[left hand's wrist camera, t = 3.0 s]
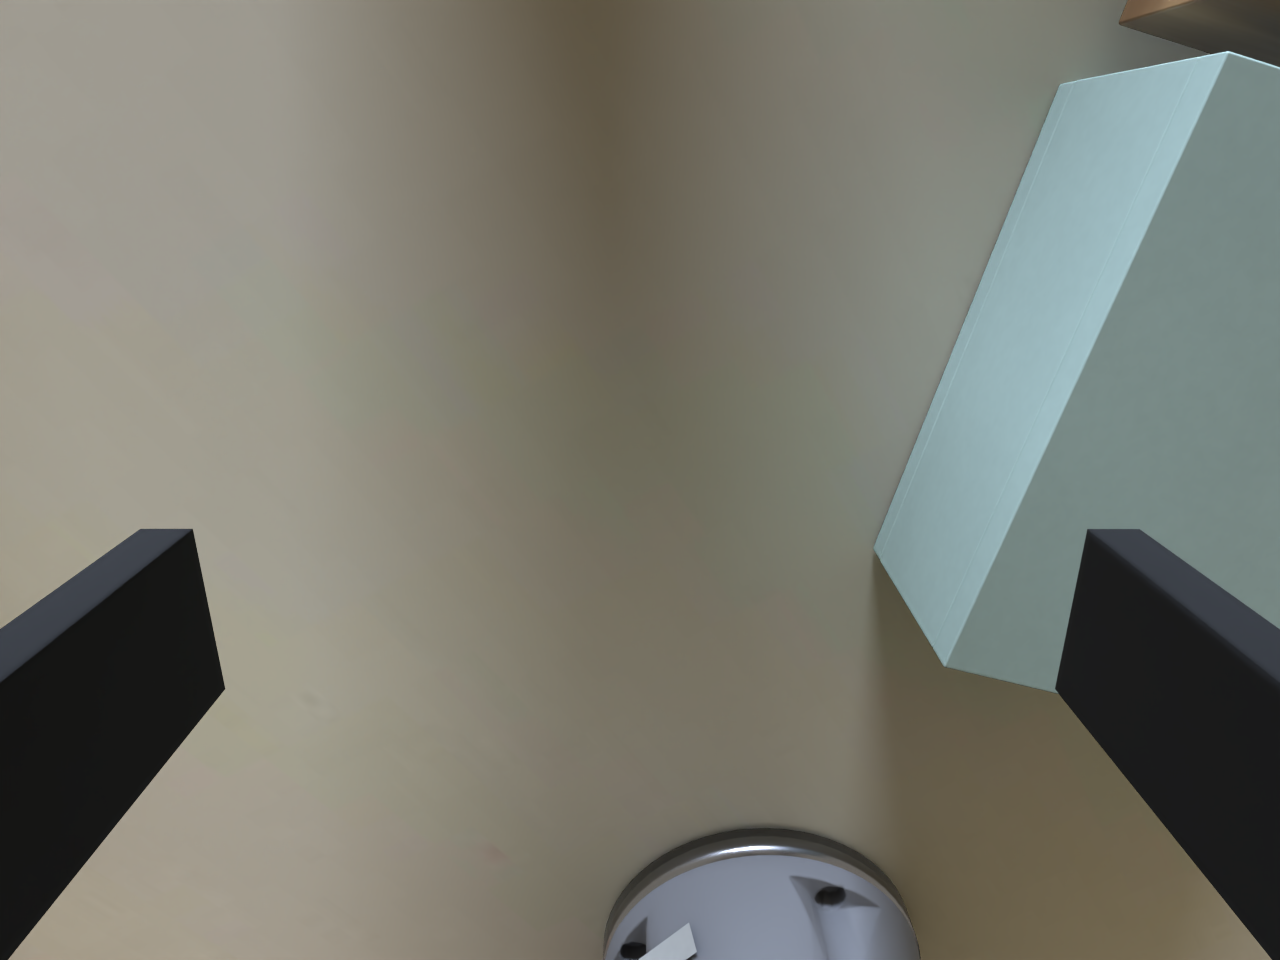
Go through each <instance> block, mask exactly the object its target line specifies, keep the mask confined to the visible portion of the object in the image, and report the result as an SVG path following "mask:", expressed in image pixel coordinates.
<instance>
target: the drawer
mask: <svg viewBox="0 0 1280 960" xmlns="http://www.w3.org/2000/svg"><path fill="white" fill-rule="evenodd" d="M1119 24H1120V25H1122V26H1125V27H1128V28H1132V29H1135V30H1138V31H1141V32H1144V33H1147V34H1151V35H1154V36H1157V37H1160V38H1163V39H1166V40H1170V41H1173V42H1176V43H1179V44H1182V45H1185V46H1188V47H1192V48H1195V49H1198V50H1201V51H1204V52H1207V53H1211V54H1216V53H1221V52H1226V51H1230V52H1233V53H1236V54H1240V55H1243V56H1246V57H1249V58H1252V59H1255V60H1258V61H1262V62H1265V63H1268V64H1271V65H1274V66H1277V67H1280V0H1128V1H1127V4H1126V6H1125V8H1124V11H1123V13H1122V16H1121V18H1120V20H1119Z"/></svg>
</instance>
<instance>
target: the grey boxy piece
mask: <svg viewBox="0 0 1280 960" xmlns="http://www.w3.org/2000/svg"><path fill="white" fill-rule="evenodd" d="M1087 529H1140V530H1142V531H1143V532H1144V533H1146V534H1147V535H1149V536H1150V537H1151V538H1153V539H1154V540H1156V541H1157V542H1158V543H1160V544H1161V545H1163V546H1164V547H1165V548H1167V549H1168V550H1170V551H1171V552H1172V553H1174V554H1175V555H1177V556H1178V557H1179V558H1181V559H1182V560H1184V561H1185V562H1186V563H1188V564H1189V565H1191V566H1192V567H1193V568H1195V569H1196V570H1198V571H1199V572H1200V573H1202V574H1203V575H1205V576H1206V577H1207V578H1209V579H1210V580H1212V581H1213V582H1214V583H1216V584H1217V585H1219V586H1220V587H1221V588H1223V589H1224V590H1226V591H1227V592H1228V593H1230V594H1231V595H1233V596H1234V597H1235V598H1237V599H1238V600H1240V601H1241V602H1242V603H1244V604H1245V605H1247V606H1248V607H1249V608H1251V609H1252V610H1254V611H1255V612H1256V613H1258V614H1259V615H1261V616H1262V617H1263V618H1265V619H1266V620H1268V621H1269V622H1270V623H1272V624H1273V625H1275V626H1276V627H1277V628H1279V629H1280V67H1277V66H1274V65H1271V64H1268V63H1265V62H1262V61H1258V60H1255V59H1252V58H1249V57H1246V56H1243V55H1240V54H1236V53H1233V52H1230V51H1226V52H1221V53H1216V54H1211V55H1206V56H1201V57H1195V58H1190V59H1185V60H1180V61H1175V62H1170V63H1165V64H1159V65H1154V66H1149V67H1144V68H1139V69H1134V70H1129V71H1123V72H1118V73H1113V74H1108V75H1103V76H1098V77H1093V78H1087V79H1082V80H1077V81H1074V82H1069V83H1064V84H1061V85H1060V86H1059V88H1058V90H1057V93H1056V95H1055V98H1054V100H1053V103H1052V105H1051V108H1050V110H1049V113H1048V115H1047V118H1046V120H1045V123H1044V125H1043V128H1042V130H1041V133H1040V135H1039V138H1038V140H1037V143H1036V145H1035V148H1034V150H1033V152H1032V155H1031V157H1030V160H1029V162H1028V165H1027V167H1026V170H1025V172H1024V175H1023V177H1022V180H1021V182H1020V185H1019V187H1018V190H1017V192H1016V195H1015V197H1014V200H1013V202H1012V205H1011V207H1010V210H1009V212H1008V215H1007V217H1006V220H1005V222H1004V225H1003V227H1002V229H1001V232H1000V234H999V237H998V239H997V242H996V244H995V247H994V249H993V252H992V254H991V257H990V259H989V262H988V264H987V267H986V269H985V272H984V274H983V277H982V279H981V282H980V284H979V287H978V289H977V292H976V294H975V297H974V299H973V302H972V304H971V307H970V309H969V311H968V314H967V316H966V319H965V321H964V324H963V326H962V329H961V331H960V334H959V336H958V339H957V341H956V344H955V346H954V349H953V351H952V354H951V356H950V359H949V361H948V364H947V366H946V369H945V371H944V374H943V376H942V379H941V381H940V384H939V386H938V388H937V391H936V393H935V396H934V398H933V401H932V403H931V406H930V408H929V411H928V413H927V416H926V418H925V421H924V423H923V426H922V428H921V431H920V433H919V436H918V438H917V441H916V443H915V446H914V448H913V451H912V453H911V456H910V458H909V461H908V463H907V466H906V468H905V470H904V473H903V475H902V478H901V480H900V483H899V485H898V488H897V490H896V493H895V495H894V498H893V500H892V503H891V505H890V508H889V510H888V513H887V515H886V518H885V520H884V523H883V525H882V528H881V530H880V533H879V535H878V538H877V540H876V543H875V545H874V548H873V549H874V551H875V553H876V554H877V556H878V558H879V559H880V562H881V563H882V565H883V567H884V568H885V570H886V572H887V573H888V575H889V577H890V578H891V580H892V582H893V583H894V585H895V587H896V588H897V590H898V592H899V593H900V595H901V596H902V598H903V600H904V601H905V603H906V605H907V606H908V608H909V610H910V611H911V613H912V615H913V616H914V618H915V620H916V621H917V623H918V625H919V626H920V628H921V630H922V631H923V633H924V635H925V636H926V638H927V640H928V641H929V643H930V645H931V646H932V647H933V650H934V651H935V653H936V655H937V656H938V658H939V660H940V661H941V663H942V665H943V666H944V667H947V668H951V669H955V670H959V671H964V672H968V673H972V674H976V675H980V676H985V677H989V678H993V679H997V680H1002V681H1006V682H1010V683H1014V684H1018V685H1023V686H1027V687H1031V688H1035V689H1040V690H1044V691H1048V692H1052V693H1056V694H1059V693H1058V692H1057V691H1056V690H1055V686H1056V681H1057V676H1058V671H1059V666H1060V661H1061V656H1062V651H1063V646H1064V641H1065V637H1066V632H1067V627H1068V622H1069V617H1070V612H1071V607H1072V602H1073V597H1074V592H1075V587H1076V582H1077V577H1078V572H1079V568H1080V563H1081V558H1082V553H1083V548H1084V543H1085V538H1086V533H1087Z"/></svg>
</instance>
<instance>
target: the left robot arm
mask: <svg viewBox="0 0 1280 960" xmlns="http://www.w3.org/2000/svg"><path fill="white" fill-rule="evenodd" d="M224 690H225V686H224V681H223V676H222V671H221V666H220V661H219V656H218V651H217V646H216V641H215V637H214V632H213V627H212V622H211V617H210V612H209V607H208V602H207V597H206V592H205V587H204V582H203V577H202V572H201V568H200V563H199V558H198V553H197V548H196V543H195V538H194V533H193V529H140V530H138V531H137V532H136V533H134V534H133V535H131V536H130V537H129V538H127V539H126V540H124V541H123V542H122V543H120V544H119V545H117V546H116V547H115V548H113V549H112V550H110V551H109V552H108V553H106V554H105V555H103V556H102V557H101V558H99V559H98V560H96V561H95V562H94V563H92V564H91V565H89V566H88V567H87V568H85V569H84V570H82V571H81V572H80V573H78V574H77V575H75V576H74V577H73V578H71V579H70V580H68V581H67V582H66V583H64V584H63V585H61V586H60V587H59V588H57V589H56V590H54V591H53V592H52V593H50V594H49V595H47V596H46V597H45V598H43V599H42V600H40V601H39V602H38V603H36V604H35V605H33V606H32V607H31V608H29V609H28V610H26V611H25V612H24V613H22V614H21V615H19V616H18V617H17V618H15V619H14V620H12V621H11V622H10V623H8V624H7V625H5V626H4V627H3V628H1V629H0V960H8V959H9V958H10V956H11V955H12V954H13V953H14V951H15V950H16V949H17V948H18V946H19V945H20V944H21V943H22V941H23V940H24V939H25V938H26V936H27V935H28V934H29V933H30V931H31V930H32V929H33V928H34V926H35V925H36V924H37V923H38V921H39V920H40V919H41V918H42V916H43V915H44V914H45V913H46V911H47V910H48V909H49V908H50V906H51V905H52V904H53V903H54V901H55V900H56V899H57V898H58V896H59V895H60V894H61V893H62V892H63V890H64V889H65V888H66V887H67V885H68V884H69V883H70V882H71V880H72V879H73V878H74V877H75V875H76V874H77V873H78V872H79V870H80V869H81V868H82V867H83V865H84V864H85V863H86V862H87V860H88V859H89V858H90V857H91V855H92V854H93V853H94V852H95V850H96V849H97V848H98V847H99V845H100V844H101V843H102V842H103V840H104V839H105V838H106V837H107V835H108V834H109V833H110V832H111V830H112V829H113V828H114V827H115V825H116V824H117V823H118V822H119V821H120V819H121V818H122V817H123V816H124V814H125V813H126V812H127V811H128V809H129V808H130V807H131V806H132V804H133V803H134V802H135V801H136V799H137V798H138V797H139V796H140V794H141V793H142V792H143V791H144V789H145V788H146V787H147V786H148V784H149V783H150V782H151V781H152V779H153V778H154V777H155V776H156V774H157V773H158V772H159V771H160V769H161V768H162V767H163V766H164V764H165V763H166V762H167V761H168V759H169V758H170V757H171V756H172V754H173V753H174V752H175V751H176V749H177V748H178V747H179V746H180V745H181V743H182V742H183V741H184V740H185V738H186V737H187V736H188V735H189V733H190V732H191V731H192V730H193V728H194V727H195V726H196V725H197V723H198V722H199V721H200V720H201V718H202V717H203V716H204V715H205V713H206V712H207V711H208V710H209V708H210V707H211V706H212V705H213V703H214V702H215V701H216V700H217V698H218V697H219V696H220V695H221V693H222V692H223V691H224ZM1055 690H1056V691H1057V692H1058V693H1059V695H1060V696H1061V697H1062V698H1063V700H1064V701H1065V702H1066V703H1067V705H1068V706H1069V707H1070V708H1071V710H1072V711H1073V712H1074V713H1075V715H1076V716H1077V717H1078V718H1079V720H1080V721H1081V722H1082V723H1083V725H1084V726H1085V727H1086V728H1087V730H1088V731H1089V732H1090V733H1091V735H1092V736H1093V737H1094V738H1095V740H1096V741H1097V742H1098V743H1099V745H1100V746H1101V747H1102V748H1103V749H1104V751H1105V752H1106V753H1107V754H1108V756H1109V757H1110V758H1111V759H1112V761H1113V762H1114V763H1115V764H1116V766H1117V767H1118V768H1119V769H1120V771H1121V772H1122V773H1123V774H1124V776H1125V777H1126V778H1127V779H1128V781H1129V782H1130V783H1131V784H1132V786H1133V787H1134V788H1135V789H1136V791H1137V792H1138V793H1139V794H1140V796H1141V797H1142V798H1143V799H1144V801H1145V802H1146V803H1147V804H1148V806H1149V807H1150V808H1151V809H1152V811H1153V812H1154V813H1155V814H1156V816H1157V817H1158V818H1159V819H1160V821H1161V822H1162V823H1163V824H1164V825H1165V827H1166V828H1167V829H1168V830H1169V832H1170V833H1171V834H1172V835H1173V837H1174V838H1175V839H1176V840H1177V842H1178V843H1179V844H1180V845H1181V847H1182V848H1183V849H1184V850H1185V852H1186V853H1187V854H1188V855H1189V857H1190V858H1191V859H1192V860H1193V862H1194V863H1195V864H1196V865H1197V867H1198V868H1199V869H1200V870H1201V872H1202V873H1203V874H1204V875H1205V877H1206V878H1207V879H1208V880H1209V882H1210V883H1211V884H1212V885H1213V887H1214V888H1215V889H1216V890H1217V892H1218V893H1219V894H1220V895H1221V896H1222V898H1223V899H1224V900H1225V901H1226V903H1227V904H1228V905H1229V906H1230V908H1231V909H1232V910H1233V911H1234V913H1235V914H1236V915H1237V916H1238V918H1239V919H1240V920H1241V921H1242V923H1243V924H1244V925H1245V926H1246V928H1247V929H1248V930H1249V931H1250V933H1251V934H1252V935H1253V936H1254V938H1255V939H1256V940H1257V941H1258V943H1259V944H1260V945H1261V946H1262V948H1263V949H1264V950H1265V951H1266V953H1267V954H1268V955H1269V956H1270V958H1271V959H1272V960H1280V629H1279V628H1277V627H1276V626H1275V625H1273V624H1272V623H1270V622H1269V621H1268V620H1266V619H1265V618H1263V617H1262V616H1261V615H1259V614H1258V613H1256V612H1255V611H1254V610H1252V609H1251V608H1249V607H1248V606H1247V605H1245V604H1244V603H1242V602H1241V601H1240V600H1238V599H1237V598H1235V597H1234V596H1233V595H1231V594H1230V593H1228V592H1227V591H1226V590H1224V589H1223V588H1221V587H1220V586H1219V585H1217V584H1216V583H1214V582H1213V581H1212V580H1210V579H1209V578H1207V577H1206V576H1205V575H1203V574H1202V573H1200V572H1199V571H1198V570H1196V569H1195V568H1193V567H1192V566H1191V565H1189V564H1188V563H1186V562H1185V561H1184V560H1182V559H1181V558H1179V557H1178V556H1177V555H1175V554H1174V553H1172V552H1171V551H1170V550H1168V549H1167V548H1165V547H1164V546H1163V545H1161V544H1160V543H1158V542H1157V541H1156V540H1154V539H1153V538H1151V537H1150V536H1149V535H1147V534H1146V533H1144V532H1143V531H1142V530H1140V529H1087V533H1086V538H1085V543H1084V548H1083V553H1082V558H1081V563H1080V568H1079V572H1078V577H1077V582H1076V587H1075V592H1074V597H1073V602H1072V607H1071V612H1070V617H1069V622H1068V627H1067V632H1066V637H1065V641H1064V646H1063V651H1062V656H1061V661H1060V666H1059V671H1058V676H1057V681H1056V686H1055ZM603 960H920V952H919V945H918V942H917V938H916V935H915V932H914V929H913V926H912V924H911V921H910V918H909V915H908V912H907V909H906V907H905V905H904V902H903V900H902V898H901V896H900V894H899V892H898V891H897V889H896V888H895V886H894V885H893V883H892V882H891V881H890V880H889V878H888V877H887V876H886V875H885V874H884V873H883V872H882V871H881V870H880V869H879V868H878V867H877V866H876V865H874V864H873V863H872V862H871V861H869V860H868V859H867V858H865V857H864V856H862V855H861V854H859V853H858V852H856V851H854V850H852V849H850V848H848V847H846V846H845V845H842V844H840V843H837V842H835V841H833V840H830V839H827V838H824V837H821V836H817V835H814V834H809V833H805V832H800V831H793V830H786V829H770V828H763V829H744V830H735V831H729V832H723V833H719V834H715V835H711V836H707V837H704V838H701V839H698V840H695V841H692V842H689V843H687V844H685V845H683V846H680V847H678V848H676V849H674V850H672V851H670V852H668V853H667V854H665V855H663V856H662V857H660V858H659V859H657V860H656V861H654V862H652V863H651V864H650V865H649V866H647V867H646V868H645V869H644V870H642V871H641V872H640V873H639V874H638V875H637V876H636V877H635V878H634V879H633V880H632V881H631V882H630V883H629V885H628V886H627V887H626V888H625V889H624V891H623V892H622V893H621V895H620V897H619V898H618V900H617V901H616V903H615V905H614V907H613V909H612V911H611V913H610V916H609V919H608V922H607V925H606V930H605V935H604V949H603Z"/></svg>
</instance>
